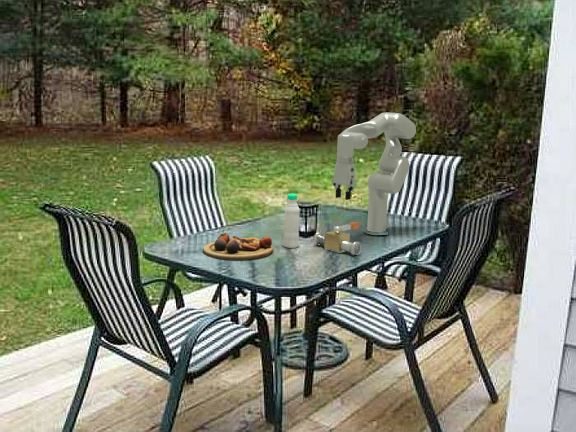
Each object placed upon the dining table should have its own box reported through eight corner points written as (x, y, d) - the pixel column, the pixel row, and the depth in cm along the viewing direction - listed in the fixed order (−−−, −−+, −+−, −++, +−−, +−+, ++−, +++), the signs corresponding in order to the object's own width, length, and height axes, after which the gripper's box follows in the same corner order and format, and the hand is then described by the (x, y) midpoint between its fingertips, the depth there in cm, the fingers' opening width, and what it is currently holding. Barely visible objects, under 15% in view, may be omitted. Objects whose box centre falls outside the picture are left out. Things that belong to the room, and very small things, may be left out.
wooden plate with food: (281, 246, 295) (282, 229, 293) (261, 263, 265) (261, 245, 263) (218, 241, 303) (218, 224, 302) (191, 258, 273) (191, 239, 271)
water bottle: (280, 247, 292) (282, 194, 286) (287, 243, 298) (289, 192, 292) (294, 249, 289) (295, 196, 283) (301, 245, 295) (302, 193, 289)
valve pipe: (322, 243, 300) (323, 226, 298) (361, 254, 283) (362, 236, 281) (312, 246, 295) (313, 228, 293) (351, 257, 278) (352, 238, 276)
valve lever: (353, 227, 298) (354, 221, 297) (359, 228, 295) (360, 222, 295) (331, 232, 287) (332, 226, 286) (337, 233, 285) (338, 227, 284)
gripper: (364, 161, 288) (362, 200, 292) (336, 157, 300) (334, 195, 304) (353, 163, 283) (351, 202, 287) (325, 159, 295) (324, 196, 298)
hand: (343, 198), depth 295 cm, fingers open, 5 cm apart
